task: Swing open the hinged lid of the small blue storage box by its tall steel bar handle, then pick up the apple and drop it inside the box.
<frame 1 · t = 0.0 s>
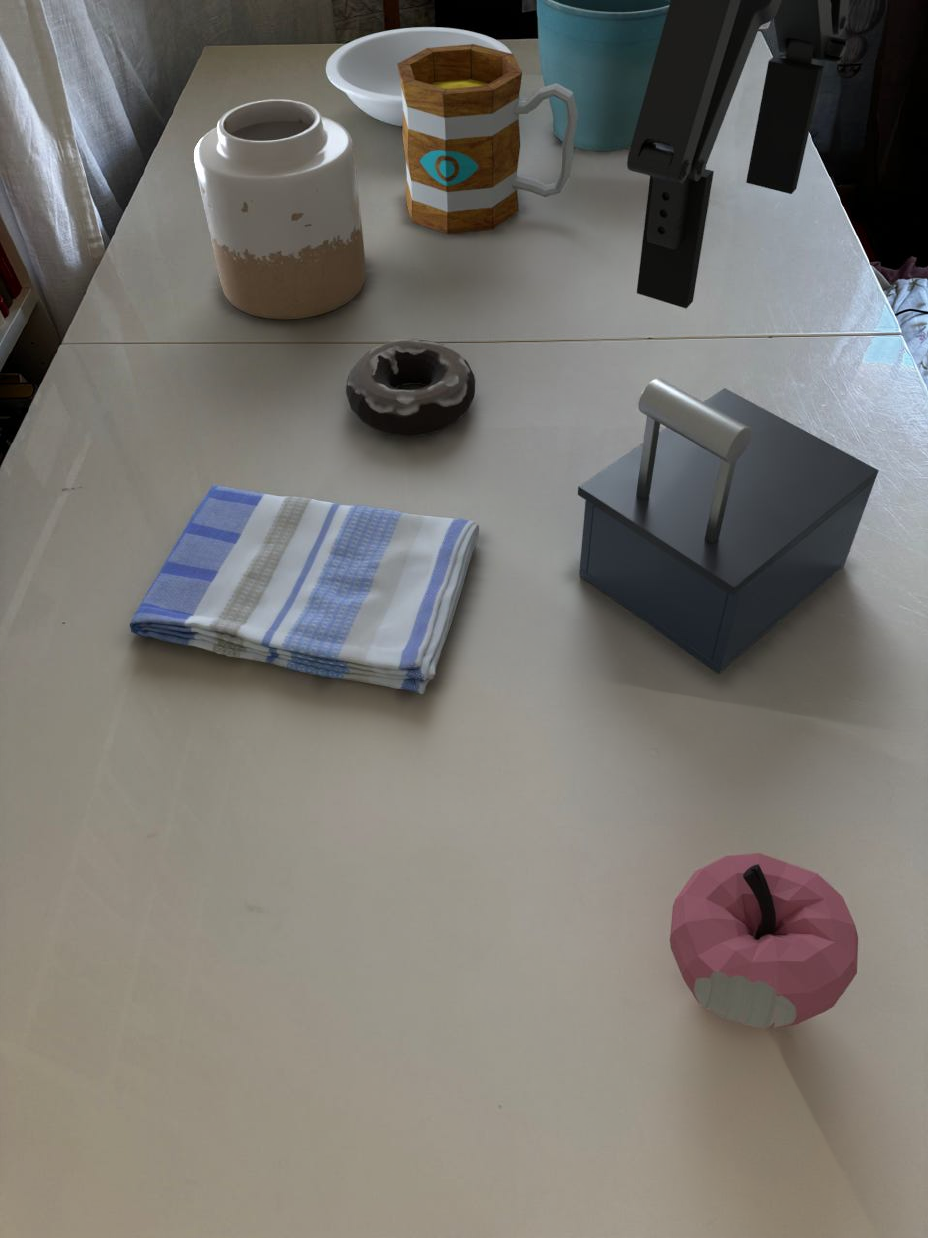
hand: (721, 238, 55), 30 cm above the table, tool pointing down, fingers open, 13 cm apart
donut: (412, 406, 95), on the table
lid: (739, 429, 70), point 14 cm above the table, hinge at 0.0°
flower pot: (601, 134, 132), on the table
blue storage box: (711, 570, 80), on the table
soup bowl: (422, 115, 137), on the table
mug: (487, 209, 120), on the table
vase: (295, 282, 110), on the table
dish towel: (315, 590, 80), on the table
apple: (741, 982, 59), on the table
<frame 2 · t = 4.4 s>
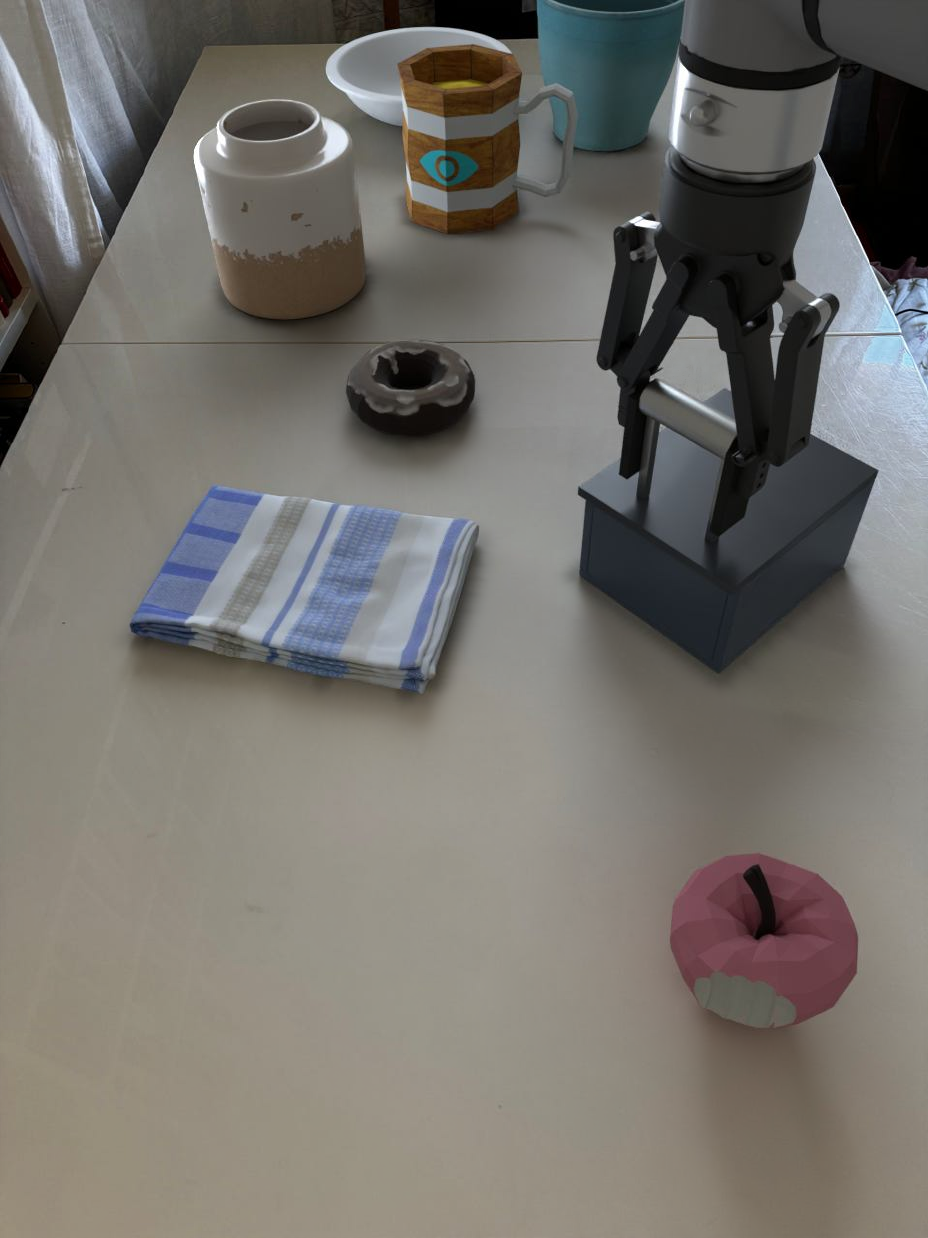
hand: (680, 494, 69), 12 cm above the table, tool pointing down, fingers closed on lid, 7 cm apart
lid: (739, 429, 70), point 14 cm above the table, hinge at 0.0°, touching gripper
everything else where it was.
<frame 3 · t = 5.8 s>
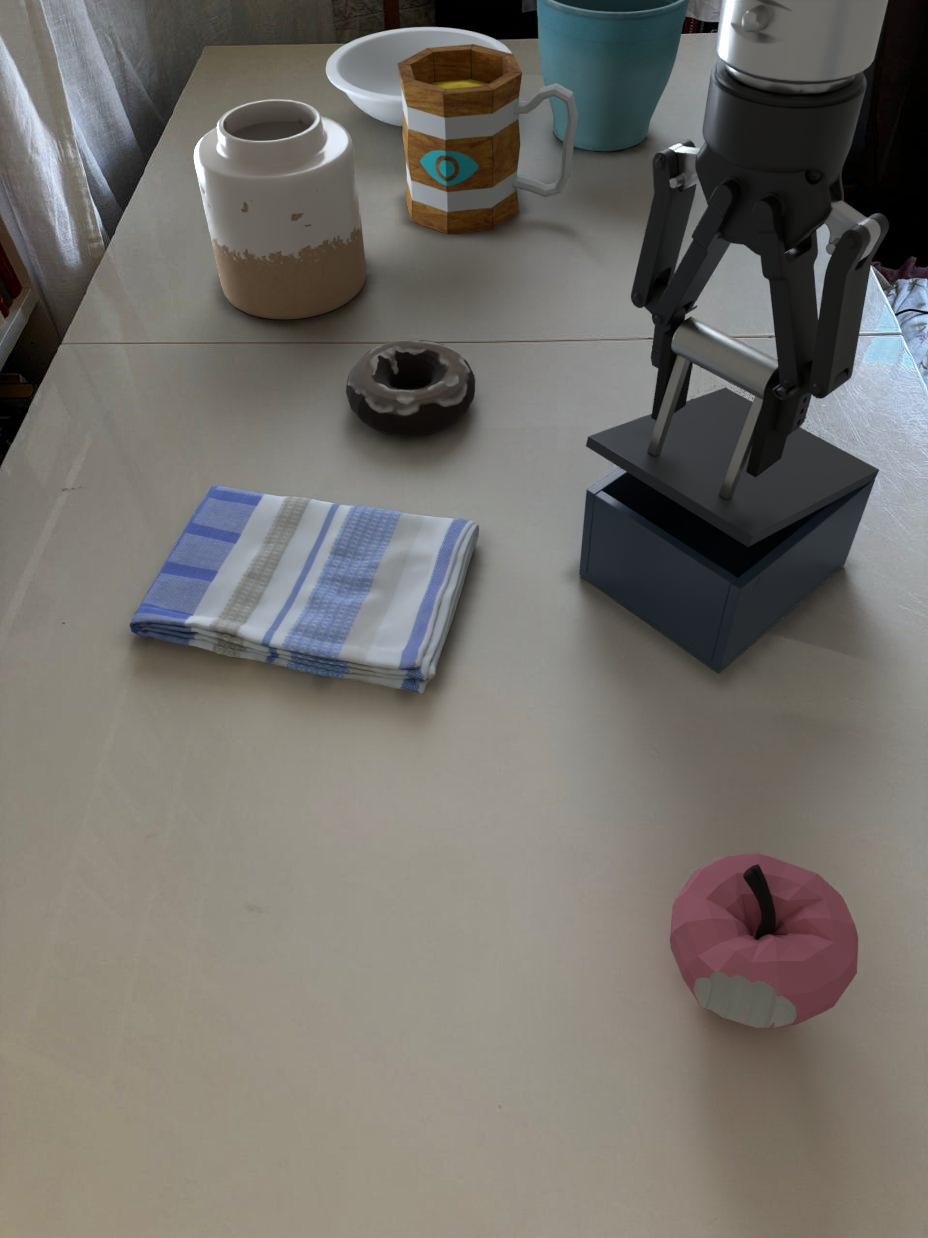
hand: (714, 437, 68), 15 cm above the table, tool pointing down, fingers closed on lid, 7 cm apart
lid: (758, 396, 69), point 16 cm above the table, hinge at 14.5°, touching gripper
everything else where it was.
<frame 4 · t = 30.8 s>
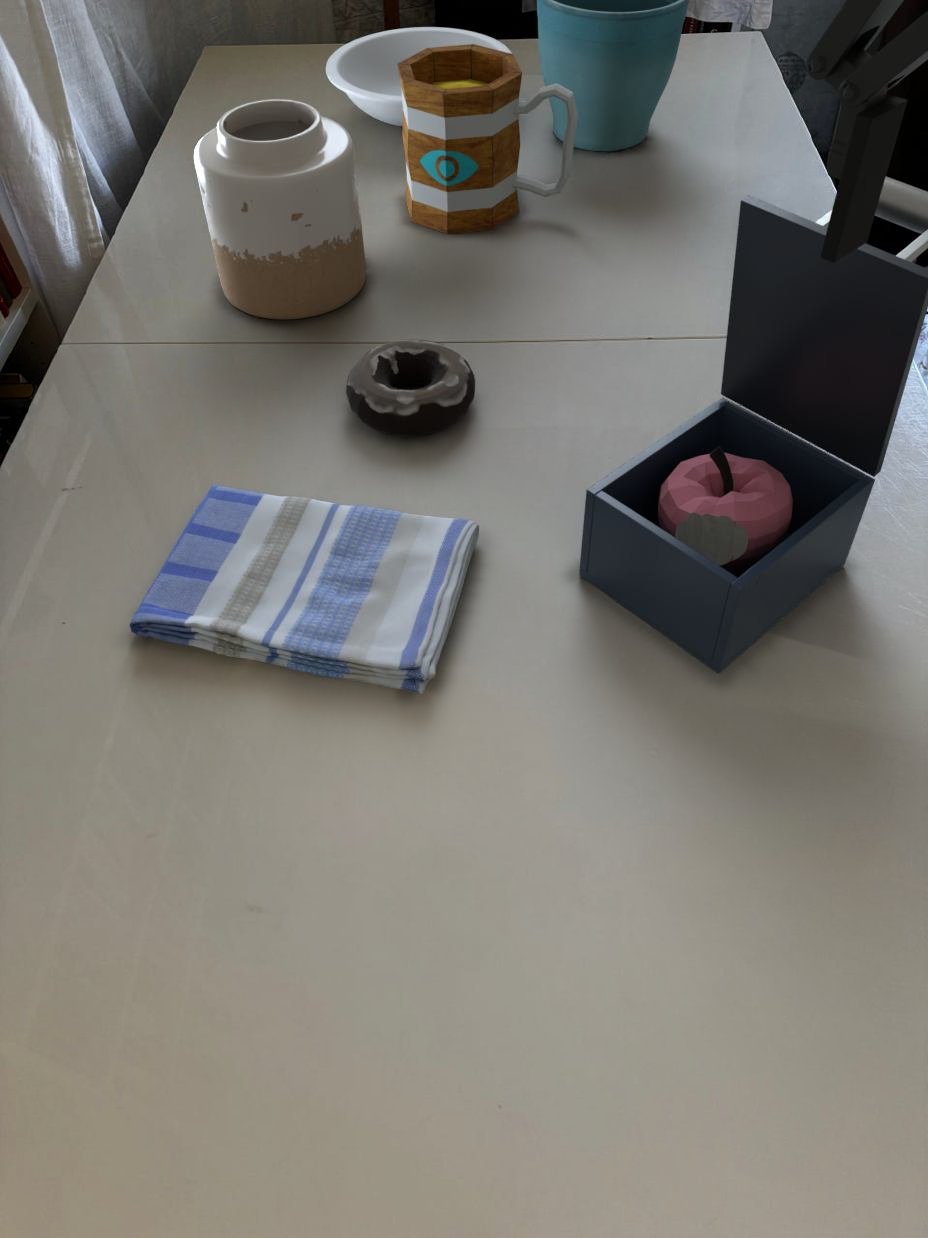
lid: (855, 307, 72), point 18 cm above the table, hinge at 82.4°
apple: (711, 564, 80), point 1 cm above the table, touching blue storage box
everything else where it was.
at the end: lid at +82° (first picture: +0°); apple inside the target area in the blue storage box (0.1 cm from its centre), point 0.6 cm above the blue storage box's base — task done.
